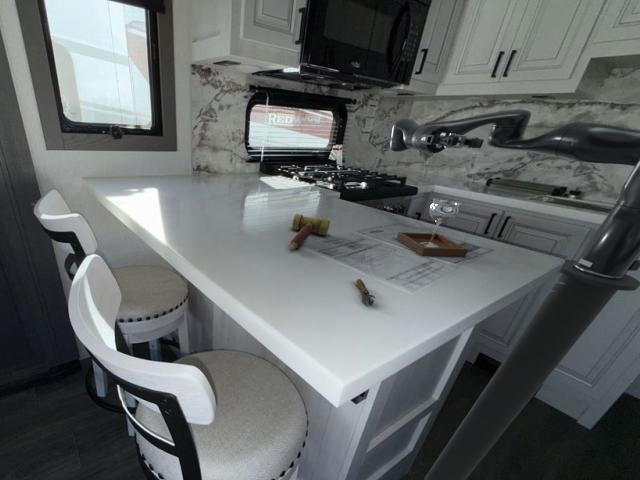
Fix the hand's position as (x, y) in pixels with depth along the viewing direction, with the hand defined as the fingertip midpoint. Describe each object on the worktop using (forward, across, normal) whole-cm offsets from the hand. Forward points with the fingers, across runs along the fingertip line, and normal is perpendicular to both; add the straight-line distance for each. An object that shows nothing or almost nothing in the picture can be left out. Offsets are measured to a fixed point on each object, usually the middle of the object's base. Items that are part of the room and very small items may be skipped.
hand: (467, 142), depth 83 cm
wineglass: (+11, -8, +26) cm, 29 cm away
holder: (+11, -8, +26) cm, 29 cm away
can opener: (+38, -40, +26) cm, 61 cm away
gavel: (+8, -44, +26) cm, 52 cm away
